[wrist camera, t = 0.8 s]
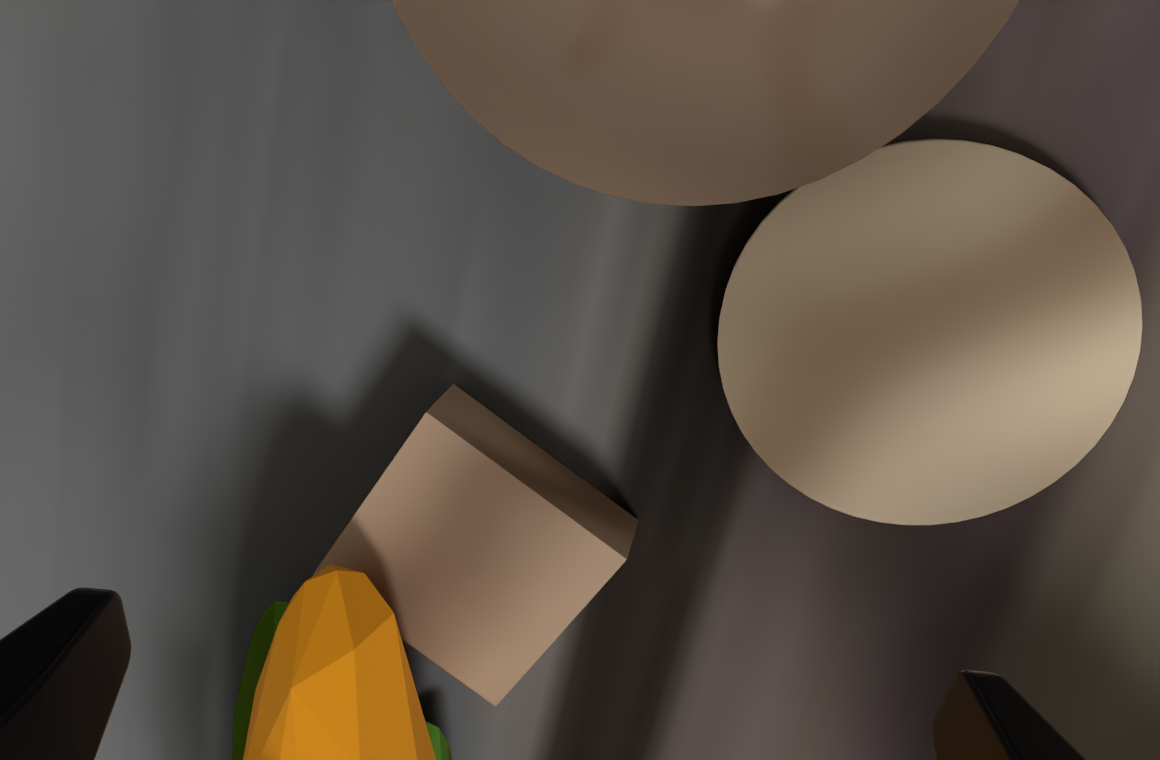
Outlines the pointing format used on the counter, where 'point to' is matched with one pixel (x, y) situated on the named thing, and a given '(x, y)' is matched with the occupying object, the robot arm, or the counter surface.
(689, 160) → the jar
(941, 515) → the coaster
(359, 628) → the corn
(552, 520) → the tile
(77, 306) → the counter surface
